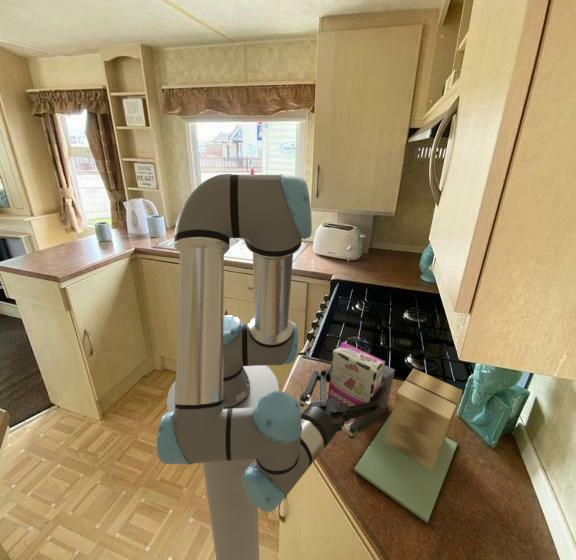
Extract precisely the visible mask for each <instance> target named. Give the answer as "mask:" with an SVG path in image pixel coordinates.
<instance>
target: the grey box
mask: <svg viewBox="0 0 576 560" xmlns="http://www.w3.org/2000/svg"><path fill="white" fill-rule="evenodd" d="M395 372H396V369H394V368H392V367H389V366H388V365H386V364H385V365H384V370H383V375H382V381H381V385H382V384H383V382H386V383H387V386H386V391H385V393H384V394H383V395H385V396H384V401H383V403H382V404H381V407H384V408H385V410H386V409H387V407H388V405H389V400H390V399H389V398H390V395H391V390H392V387H393V380H394V377H395Z"/></svg>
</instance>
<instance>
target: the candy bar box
mask: <svg viewBox="0 0 576 560" xmlns="http://www.w3.org/2000/svg"><path fill="white" fill-rule="evenodd" d="M330 365H331V366H330V367H331V374H330V382H329V386H328V392H327V393H328V394H327V399H331V400H332V401H333V402H334V403H337V404H339V405H341V407H343V406H349V407H350V406H354V405H358V404H363V403H367V402H371V399H372V397H373V395H374V394H375V393H376V391H377V390H378V389H379V388H380V386H381V381H382V375H383V370H384V365H386V360H383V359H380V358H379V357H376V356H375V355H372V354H370V353H368V352H366V351H363V350H361V349H359V348H356V347H354V346H352V345H350V344H348V343H346V342H341V343H340V345H338V346H337V347H336V348H335V349H333V351H332V356H331V364H330ZM361 417H362V416H361ZM361 417H357V418H353V420H357V419H359V418H361Z"/></svg>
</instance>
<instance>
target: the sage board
mask: <svg viewBox="0 0 576 560" xmlns="http://www.w3.org/2000/svg"><path fill="white" fill-rule="evenodd" d="M392 412H393V410H392ZM392 412H391V413H390V415H388V416H387V419H386V420H385V422H384V423H383V425H382V426H381V428H380V429H379V430H378V432H377V434H376V435H375V436H374V439H373V440H372V441H371V443H370V444H369V446H368V447H367V449H366V450H365V451H364V453H363V455H362V456H361V458H360V459H359V460H358V462H357V464H356V465H355V467H354V468H353V471H354V472H355V473H356V474H357V475H359V476H360V477H362V478H363V479H365V480H366V481H367V482H369V483H370V484H372V486H374V487H376V488H377V489H378V490H379V491H381V492H383V493H384V494H385V495H387V496H388V497H390V498H391V499H392V500H394V501H395V502H396V503H398V504H399V505H401V506H402V507H403V508H405V509H406V510H408V511H409V512H410V513H412V514H414V515H415V516H416V517H417V518H418V519H420V520H422V521H423V522H424V523H426V524H428V523H429V520H430V517H431V515H432V511H433V510H434V507H435V505H436V501H437V499H438V496H439V494H440V492H441V488H442V486H443V483H444V481H445V478H446V475H447V473H448V470H449V467H450V465H451V462H452V460H453V457H454V455H455V451H456V450H457V446H458V442H455V441H454V440H452V439H450V438H448V437H447V438H446V440H445V443H444V445H443V448H442V450H441V452H440V454H439V457H438V459H437V462H436V464H435V466H434V469H433V471H431V470H430V469H428V468H426V467H425V466H423V465H422V464H420V463H418V462H417V461H415V460H414V459H412V458H410V457H409V456H407V455H405V454H404V453H402V452H401V451H399V450H397V449H396V448H394V447H393V446H391V445H389V444H388V443H386V438H387V433H388V429H389V425H390V420H391V416H392Z"/></svg>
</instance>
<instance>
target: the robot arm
mask: <svg viewBox="0 0 576 560" xmlns="http://www.w3.org/2000/svg"><path fill="white" fill-rule="evenodd" d="M312 223H313V221H312V209H311V200H310V193H309V187H308V185H307V182H306V180H305V179H304V178H303V177H301V176H299V175H288V174H286V175H285V174H283V173H279V174H232V173H222V174H217V175H214V176H212V177H210V178H208V179H205V180H204V181H203V182H201V183H200V184H199V185H198V186H197V187H196V188H195V189H194V190H192V192H191V193H190V195H189V196H188V197H187V199H186V200H185V202H184V204H183V206H182V208H181V210H180V212H179V214H178V216H177V219H176V224H175V228H174V241H173V247H174V249H175V250H177V252H179V269H178V270H179V271H178V298H177V299H178V301H177V307H178V308H177V327H176V328H177V329H176V330H177V331H176V354H175V355H176V357H175V358H176V359H175V360H176V361H175V380H176V382H175V410H174V411H172V412H168V411H167V412H166V413H165V414H163V416H162V417H161V419H160V422H159V424H158V432H157V435H156V452H157V457H158V459H159V461H160V462H161V463H163V464H165V465H188V466H191V465H193V464H203V463H204V462H215V461H225V460H227V461H231V460H247V459H256V460H255V461H254V462H253V463H252V464H250V465H249V467H248V469H247V470H246V471H245V472H244V474H243V476H242V484H243V487H244V489H245V491H246V493H247V495H248V497H249V498H250V499H251V501H252V502H253V503H254V504H255V505H256V506H257V507H258V509H259V510H261V511H263V512H265V513H271V512H273V511H274V510H276V509H277V508H278V506H279V505H280V504H281V503H282V502H283V501H284V500H286V499H287V498H288V495H289V494H290V492H291V491H292V490H293V489H294V487H295V486H296V485H297V483H299V481H300V480H301V479H302V477H303V476H304V475H305V473H306V472H307V471H308V470H309V468H310V467H311V466H312V465H313V464H314V462H315V461H316V460H317V458H318V457H319V455H321V453H322V452H323V451H324V449H325V448H327V446H328V445H329V443H330V442H331V441H332V440H333V438H335V436H336V435H337V433H339V432H341V431H343V432H345V433H346V434H348V438H349V439H350V440H354V439H355V438H356V437H357V436H358V434H359V433H361V432H362V431H364V430H366V429H368V428H370V427H372V426H373V425H374V424H376V423H378V422H380V421H382V420H383V419H384V416H385V412H386V409H385V408H384V407H381V404H382V403H383V401H384V396H385V395H383V394H384V393H385V391H386V386H387V383H386V382H383V384H382V385H381V386H380V388H379V389H378V390H377V391H376V393H375V394H374V395H373V397H372V399H371V402H367V403H363V404H358V405H354V406H350V407H349V406H343V407H341V405H339V404H337V403H334V402H333V401H332V400H331V399H328V398H327V383H329V384H330V374H331V366H329V367H327V368H326V369H321V371H320V372H319V370H317V369H314V370H312V371H313V372H312V374H311V376H310V378H309V381H308V383H307V386H306V389H305V390H304V392H302V393H301V394H300V396H299V401H298V399H296V398H295V397H294V396H293V395H291V394H289V393H288V392H285V391H281V390H279V391H273V392H270V393H268V394H266V395H263V396H261V397H260V398H259V399H258V401H257V402H256V404H255V407H250V408H234V407H236V406H238V405H240V404H241V403H242V402H244V401H245V400H246V398H247V397H248V395H249V393H250V380H249V377H248V375H247V373H246V371H245V369H244V367H243V366H262V365H266V366H283V365H290V364H292V363H294V361H295V359H296V358H297V354H298V348H299V347H298V344H299V330H298V326H297V323H296V322H293V321H292V319H291V317H290V316H289V312H290V300H291V289H292V288H291V287H292V275H293V274H292V273H293V262H294V261H293V259H294V254H295V253H297V252H298V251H299V250H300V249H301V246H302V241H303V240H306V239H309V238H310V237H311V236H312V230H313V225H312ZM231 239H244V244H245V247H246V248H247V249H248V251H250V252H251V253H252V271H253V273H252V274H253V302H254V303H253V304H254V306H253V307H254V308H253V309H254V316H252V318H251V319H250V321H249V323H242V320H241V319H240V318H239V317H237V316H234V315H227V314H226V315H225V314H224V310H225V309H224V303H225V302H224V300H225V299H224V297H225V296H224V294H225V291H224V287H225V285H224V282H225V279H224V277H225V276H224V275H225V254H227V253H228V252H229V251H230V245H231V243H230V240H231ZM302 239H303V240H302ZM318 381H319V382H320V383H319V387H320V388H319V399H318V400H312V396H313V393H314V390H315V388H316V385H317V382H318ZM301 407H306V408H305V410H304V411H302V408H301ZM361 416H362V417H361ZM357 417H361V418H359V419H357V420H356V419H354V418H357ZM350 420H354V421H350ZM349 421H350V422H349ZM346 422H347V423H346ZM348 422H349V423H348Z"/></svg>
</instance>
